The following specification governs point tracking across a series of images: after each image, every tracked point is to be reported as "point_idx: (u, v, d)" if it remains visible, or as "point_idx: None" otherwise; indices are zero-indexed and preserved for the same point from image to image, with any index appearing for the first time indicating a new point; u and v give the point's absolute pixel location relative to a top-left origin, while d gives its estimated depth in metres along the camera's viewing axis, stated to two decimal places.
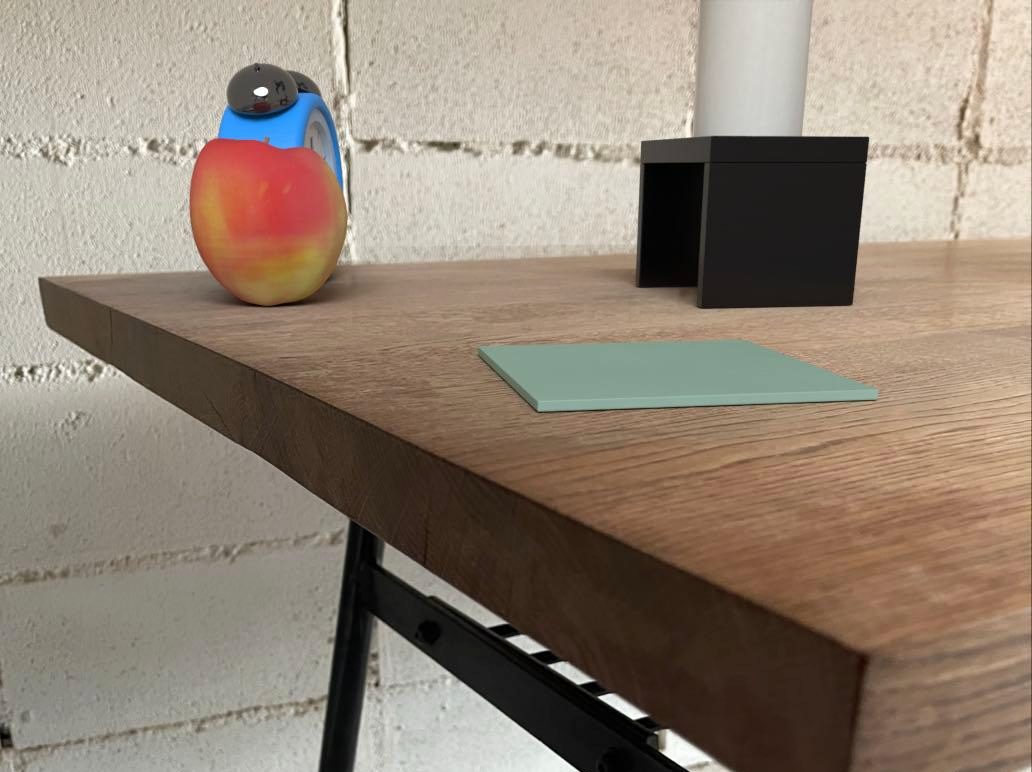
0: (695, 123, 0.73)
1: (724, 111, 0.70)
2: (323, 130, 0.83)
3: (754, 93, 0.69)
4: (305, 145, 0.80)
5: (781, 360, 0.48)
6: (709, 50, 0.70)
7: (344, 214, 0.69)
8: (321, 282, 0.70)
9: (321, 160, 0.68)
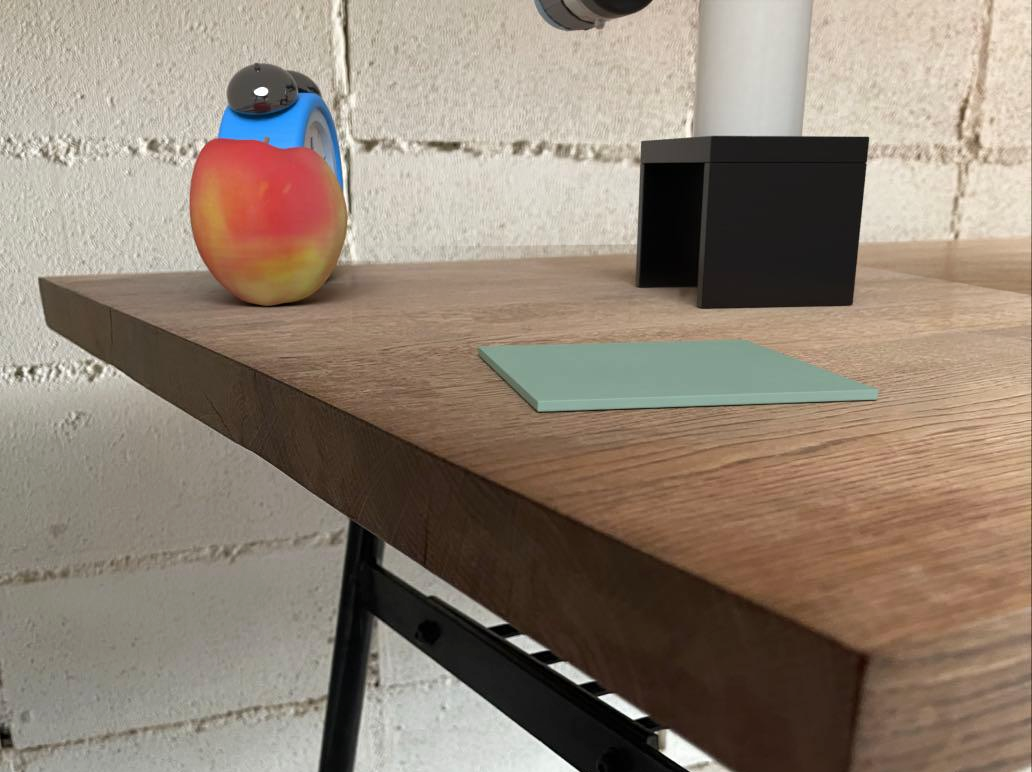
0: (695, 123, 0.73)
1: (724, 111, 0.70)
2: (323, 130, 0.83)
3: (754, 93, 0.69)
4: (305, 145, 0.80)
5: (781, 360, 0.48)
6: (709, 50, 0.70)
7: (344, 214, 0.69)
8: (321, 282, 0.70)
9: (321, 160, 0.68)
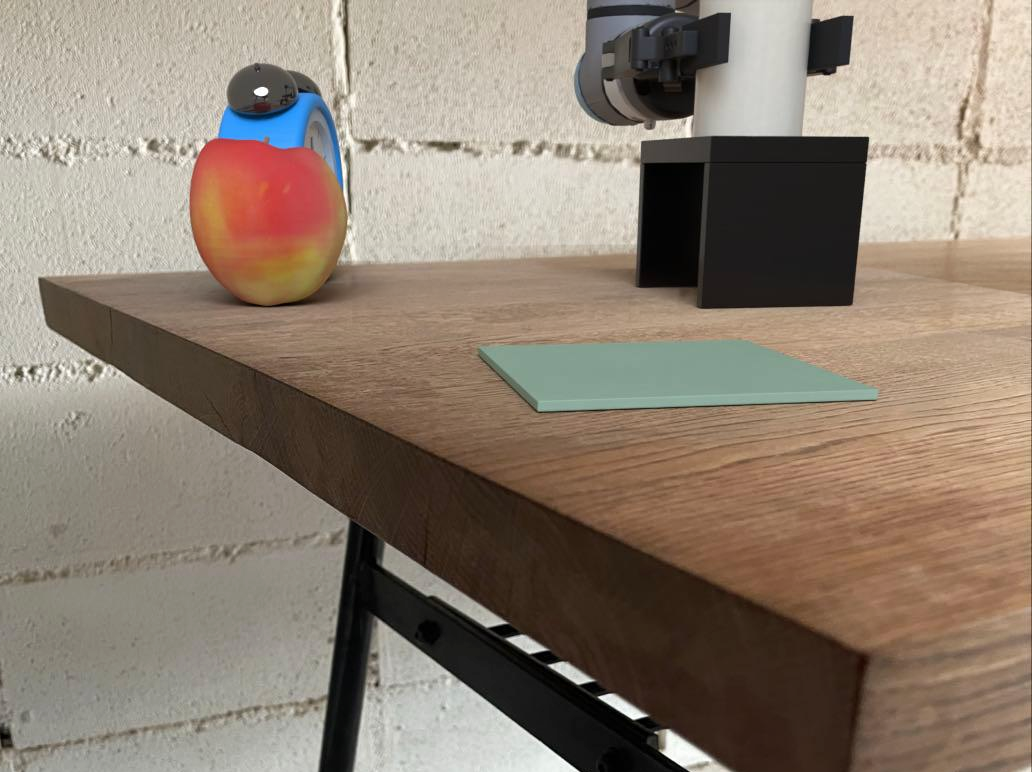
0: (695, 123, 0.73)
1: (724, 111, 0.70)
2: (323, 130, 0.83)
3: (754, 93, 0.69)
4: (305, 145, 0.80)
5: (781, 360, 0.48)
6: None
7: (344, 214, 0.69)
8: (321, 282, 0.70)
9: (321, 160, 0.68)
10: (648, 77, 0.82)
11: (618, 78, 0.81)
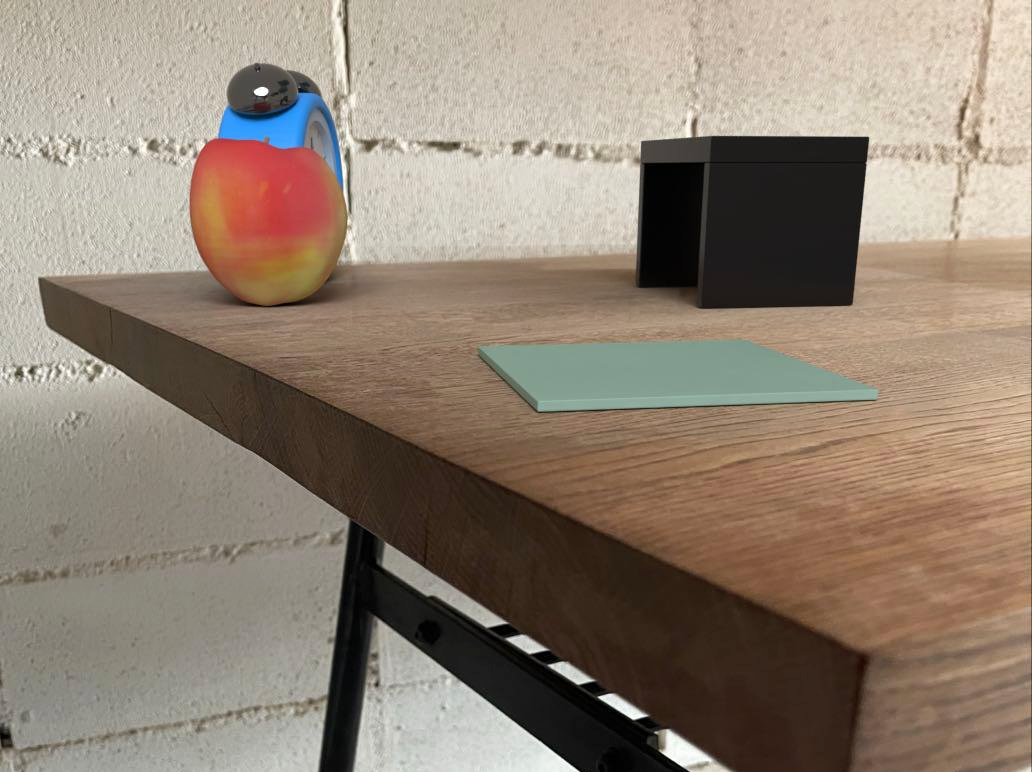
0: None
1: None
2: (323, 130, 0.83)
3: None
4: (305, 145, 0.80)
5: (781, 360, 0.48)
6: None
7: (344, 214, 0.69)
8: (321, 282, 0.70)
9: (321, 160, 0.68)
10: None
11: None
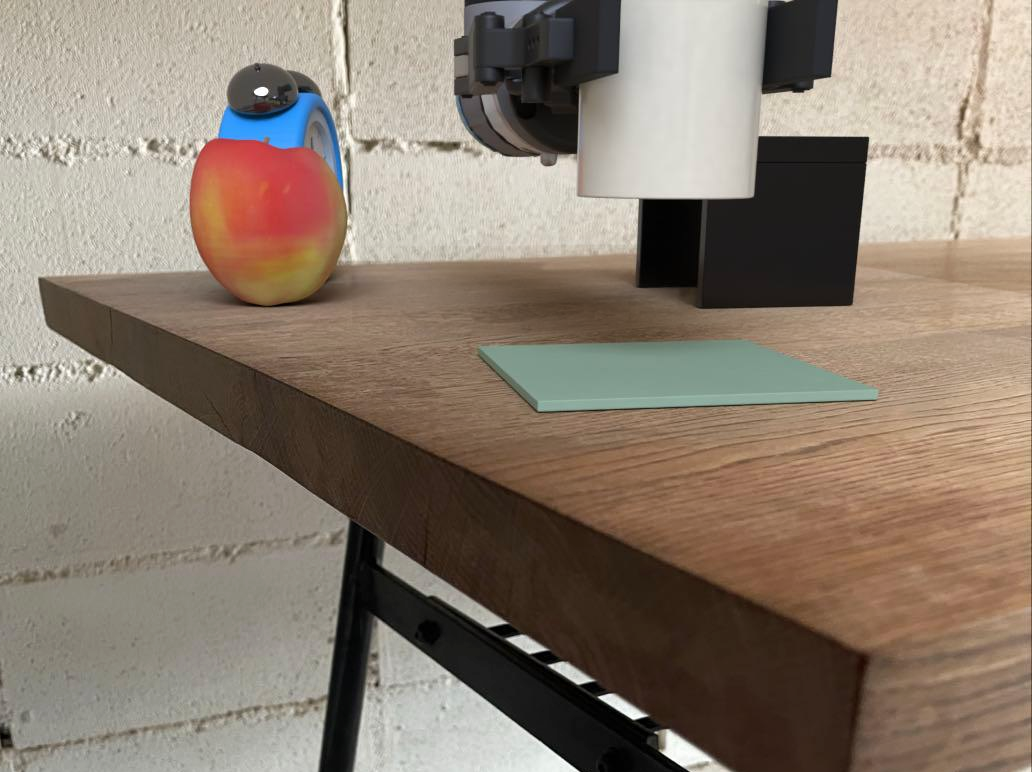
0: (578, 172, 0.44)
1: (621, 154, 0.42)
2: (323, 130, 0.83)
3: (669, 125, 0.41)
4: (305, 145, 0.80)
5: (781, 360, 0.48)
6: None
7: (344, 214, 0.69)
8: (321, 282, 0.70)
9: (321, 160, 0.68)
10: None
11: (478, 94, 0.52)
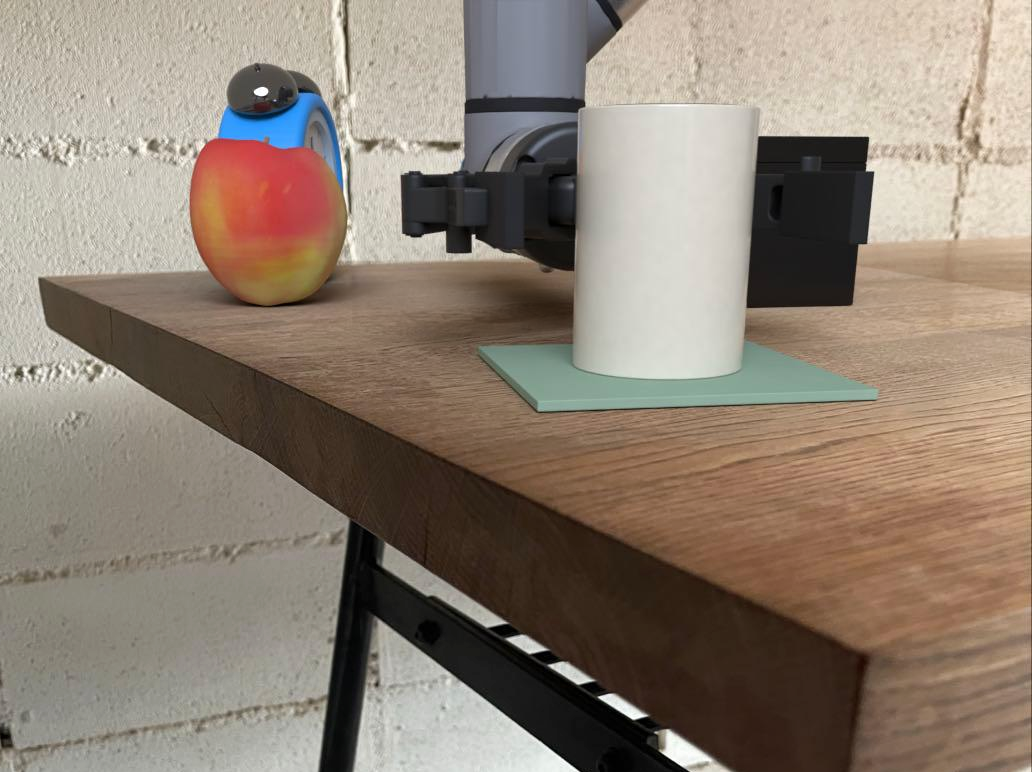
0: (574, 344, 0.46)
1: (614, 336, 0.44)
2: (323, 130, 0.83)
3: (660, 313, 0.43)
4: (305, 145, 0.80)
5: (781, 360, 0.48)
6: (590, 239, 0.44)
7: (344, 214, 0.69)
8: (321, 282, 0.70)
9: (321, 160, 0.68)
10: None
11: None
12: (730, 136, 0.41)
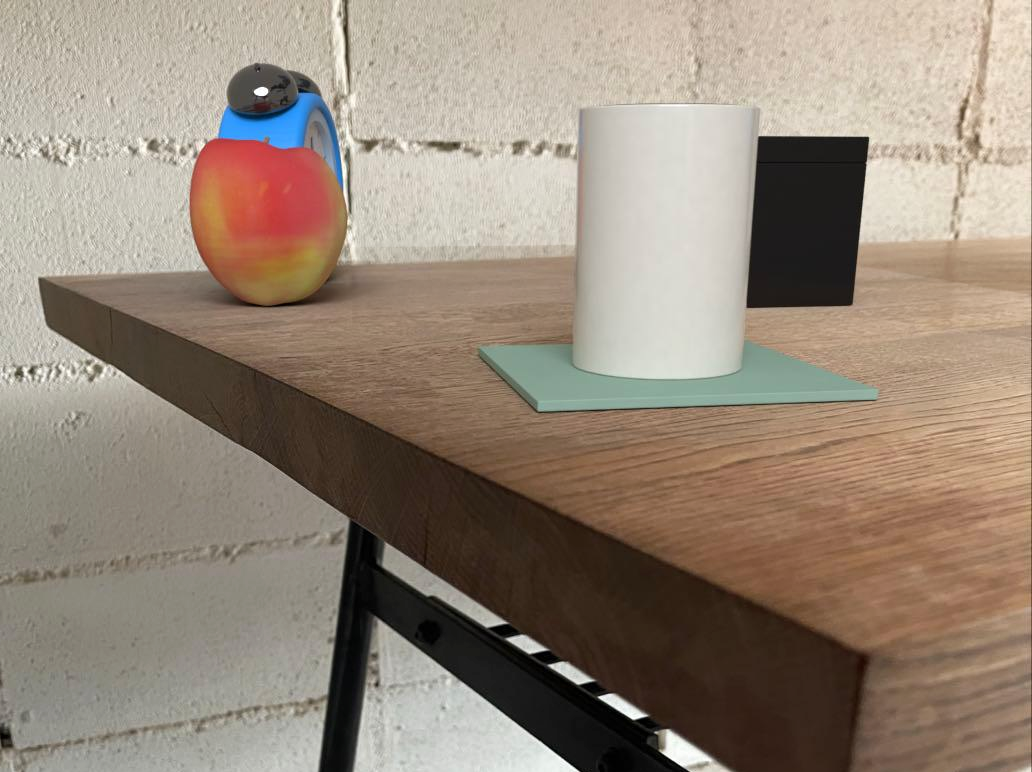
0: (574, 344, 0.46)
1: (614, 336, 0.44)
2: (323, 130, 0.83)
3: (660, 313, 0.43)
4: (305, 145, 0.80)
5: (781, 360, 0.48)
6: (590, 239, 0.44)
7: (344, 214, 0.69)
8: (321, 282, 0.70)
9: (321, 160, 0.68)
10: None
11: None
12: (730, 136, 0.41)
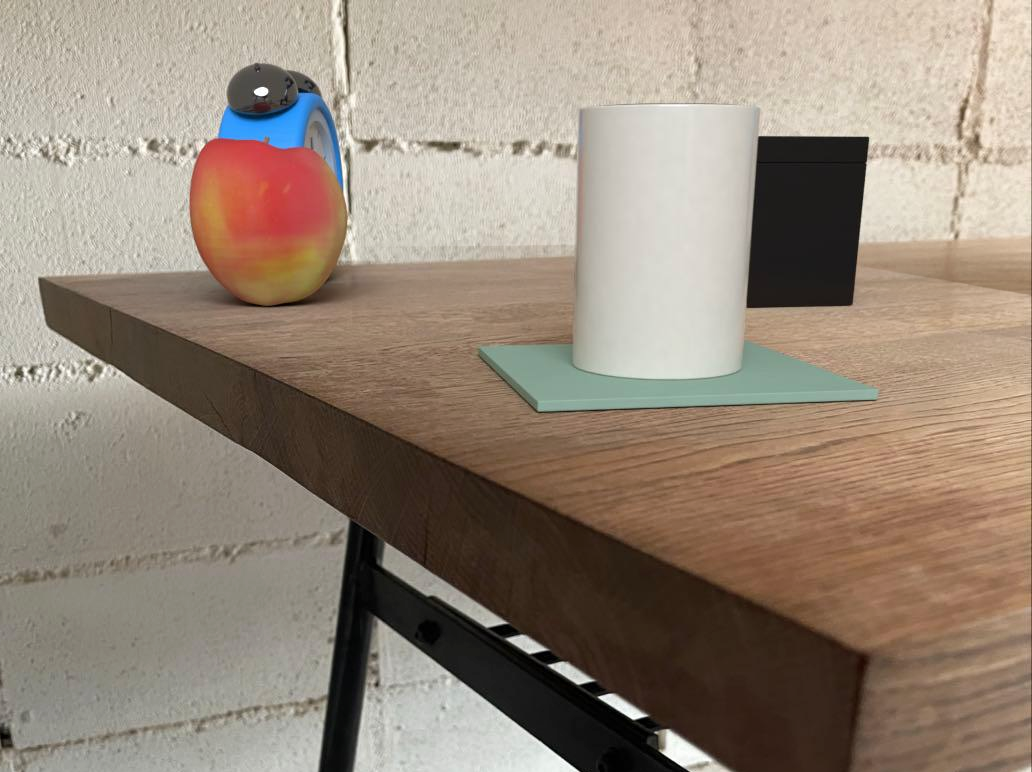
0: (574, 344, 0.46)
1: (614, 336, 0.44)
2: (323, 130, 0.83)
3: (660, 313, 0.43)
4: (305, 145, 0.80)
5: (781, 360, 0.48)
6: (590, 239, 0.44)
7: (344, 214, 0.69)
8: (321, 282, 0.70)
9: (321, 160, 0.68)
10: None
11: None
12: (730, 136, 0.41)
